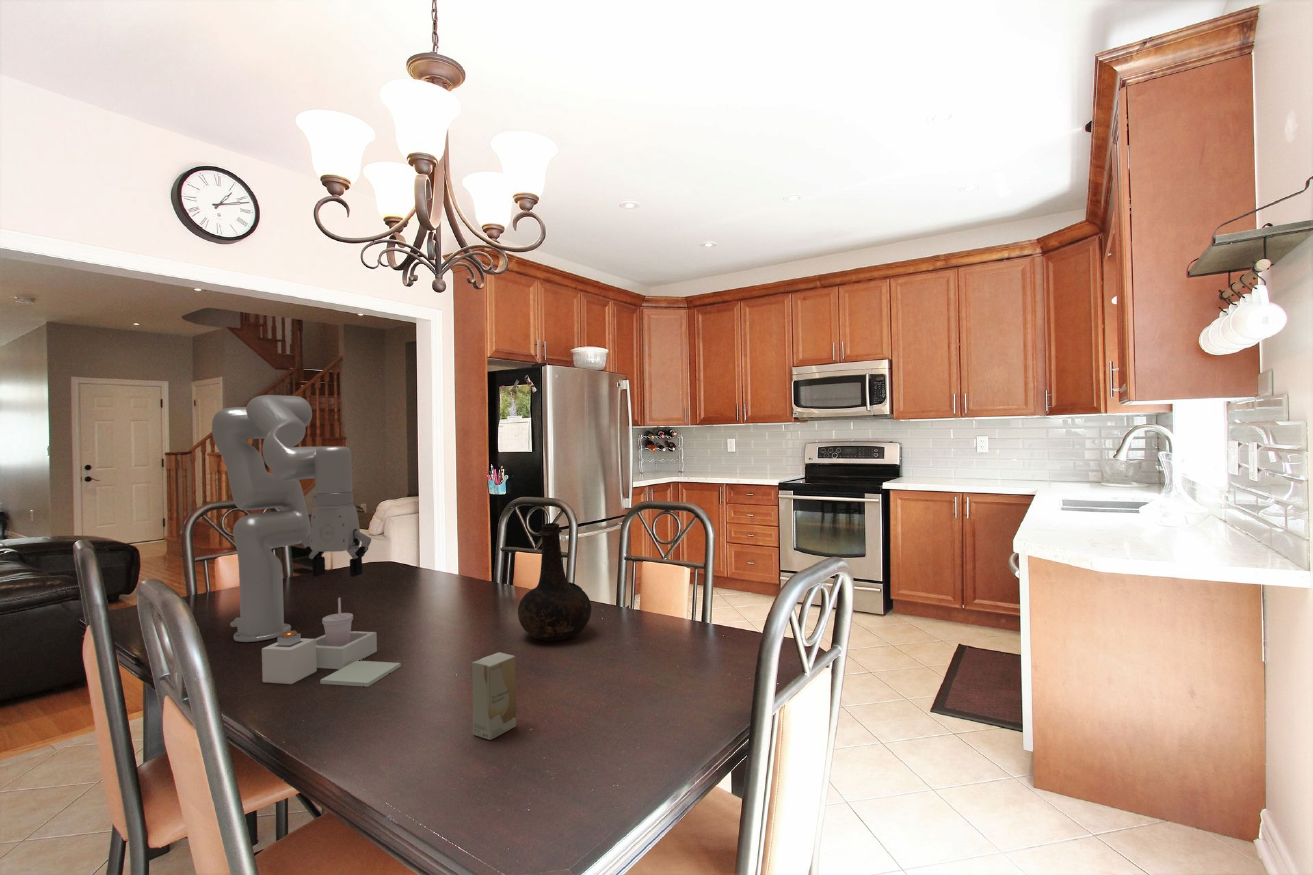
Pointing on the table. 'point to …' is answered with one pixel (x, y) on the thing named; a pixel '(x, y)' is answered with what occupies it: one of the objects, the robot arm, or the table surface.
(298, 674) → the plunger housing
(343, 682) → the coaster
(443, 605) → the table surface
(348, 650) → the holder
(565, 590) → the glass bottle
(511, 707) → the skincare box
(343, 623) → the smoothie
